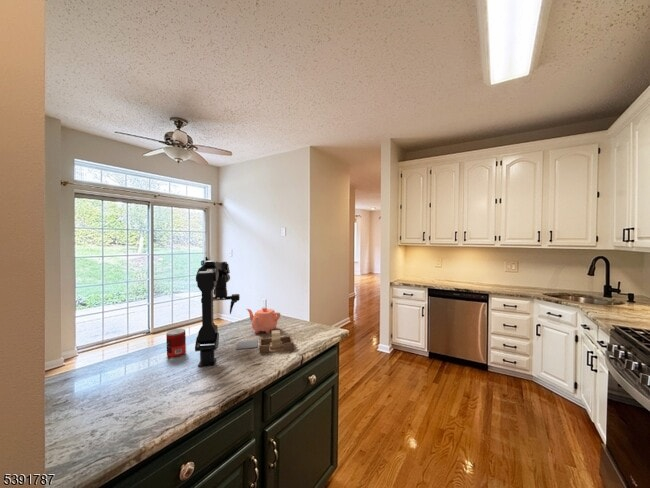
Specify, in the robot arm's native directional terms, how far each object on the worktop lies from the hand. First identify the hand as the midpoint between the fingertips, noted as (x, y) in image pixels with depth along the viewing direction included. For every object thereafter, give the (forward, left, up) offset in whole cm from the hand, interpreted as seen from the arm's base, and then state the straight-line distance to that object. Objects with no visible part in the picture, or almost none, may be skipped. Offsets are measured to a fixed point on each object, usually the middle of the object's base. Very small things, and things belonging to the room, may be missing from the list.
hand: (221, 314), depth 144 cm
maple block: (-17, -28, -12) cm, 35 cm away
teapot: (+11, -22, -14) cm, 28 cm away
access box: (-18, -28, -14) cm, 36 cm away
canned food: (-12, +18, -14) cm, 27 cm away
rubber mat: (-9, -14, -14) cm, 22 cm away
